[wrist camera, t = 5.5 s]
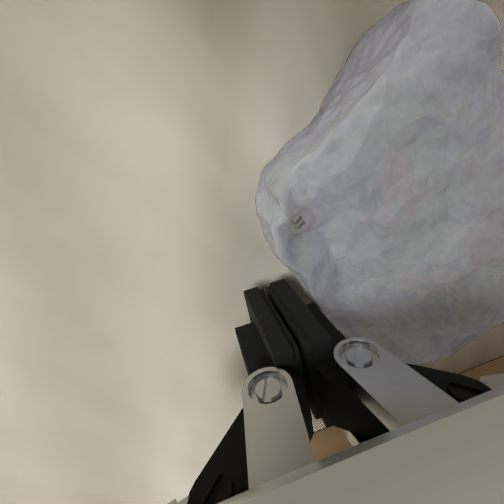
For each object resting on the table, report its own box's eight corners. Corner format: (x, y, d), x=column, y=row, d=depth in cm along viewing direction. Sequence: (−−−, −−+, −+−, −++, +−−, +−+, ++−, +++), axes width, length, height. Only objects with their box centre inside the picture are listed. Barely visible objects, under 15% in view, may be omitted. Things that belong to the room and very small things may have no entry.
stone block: (366, 326, 17) (522, 206, 14) (412, 398, 13) (646, 246, 10) (213, 199, 13) (388, -3, 10) (205, 241, 9) (501, -84, 6)
